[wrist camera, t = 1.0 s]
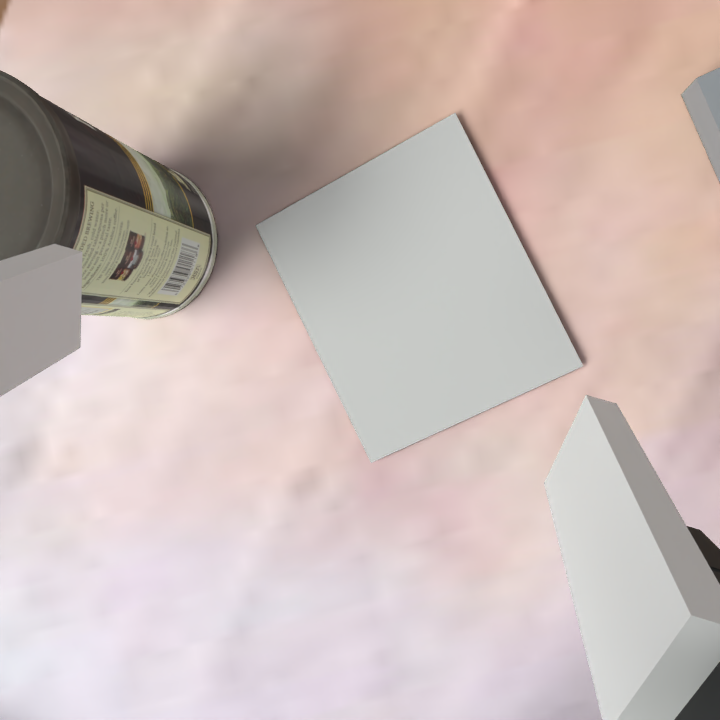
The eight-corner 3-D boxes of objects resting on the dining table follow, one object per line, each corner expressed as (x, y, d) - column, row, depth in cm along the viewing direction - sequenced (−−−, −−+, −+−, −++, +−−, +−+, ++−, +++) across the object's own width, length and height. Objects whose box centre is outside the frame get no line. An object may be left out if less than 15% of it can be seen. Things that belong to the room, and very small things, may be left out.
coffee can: (76, 167, 38) (-146, 69, 24) (219, 163, 36) (69, 55, 22) (76, 319, 38) (-142, 310, 24) (217, 322, 36) (69, 315, 22)
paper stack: (605, 31, 32) (608, 25, 31) (809, 424, 31) (817, 426, 30) (259, 227, 36) (255, 225, 35) (430, 579, 35) (430, 584, 34)
